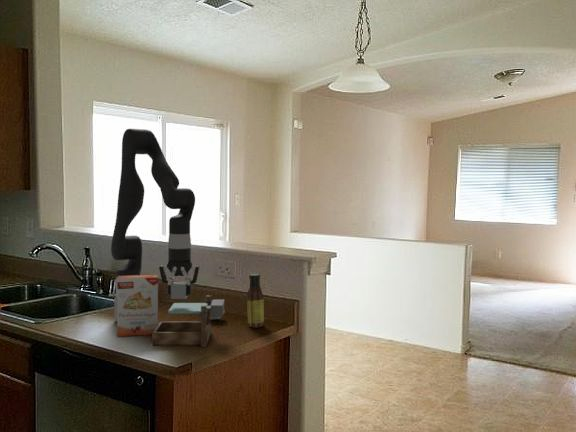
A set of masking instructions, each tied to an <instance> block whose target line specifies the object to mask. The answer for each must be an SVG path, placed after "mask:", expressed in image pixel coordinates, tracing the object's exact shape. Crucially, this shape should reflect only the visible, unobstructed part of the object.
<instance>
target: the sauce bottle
mask: <svg viewBox="0 0 576 432" xmlns="http://www.w3.org/2000/svg"><path fill="white" fill-rule="evenodd" d="M248 276H249V277H248V278H249V288H248V290H247V293H246V295H247V297H246V300H247V301H246V304H247V307H246V309H247V310H246V311H247V324H248V327H250V328H254V329H255V328H256V329H257V328H261V327H264V324H265V323H264V322H265V313H264V312H265V306H264V305H265V304H264V303H265V301H264V295H263V292H262V288H261V282H260V281H261V280H260V279H261V274H260V273H250V274H249V275H248Z"/></svg>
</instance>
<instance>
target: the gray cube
mask: <svg viewBox="0 0 576 432" xmlns="http://www.w3.org/2000/svg"><path fill="white" fill-rule="evenodd" d="M186 285H187V283H186V281H173V282H172V284H171V296H170V299H171V300H186V299H187V298H188V296H186Z"/></svg>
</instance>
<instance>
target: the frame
mask: <svg viewBox="0 0 576 432" xmlns="http://www.w3.org/2000/svg"><path fill="white" fill-rule="evenodd" d="M212 301H213V299H212V295H211V294H210V295H205V300H204V303H208V306H211V304H212ZM199 318H200V321H160V322H158V326H157V327H156V328H155V330H154V331H153V333H152V336H151V338H152V339H151V341H152V345H151V346H152V347H157V346H162V347H164V346H167V347H170V346H173V347H174V346H176V347H177V346H181V347H182V346H185V347H186V345H190V346H191V345H200V347H201V348H207V347H208V343H209V340H210V337H211V335H212V333H211V332H212V331H211V330H212V322H211V321H212V319H211V311H207V310H206V305H202V306H201V311H200V314H199Z"/></svg>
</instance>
